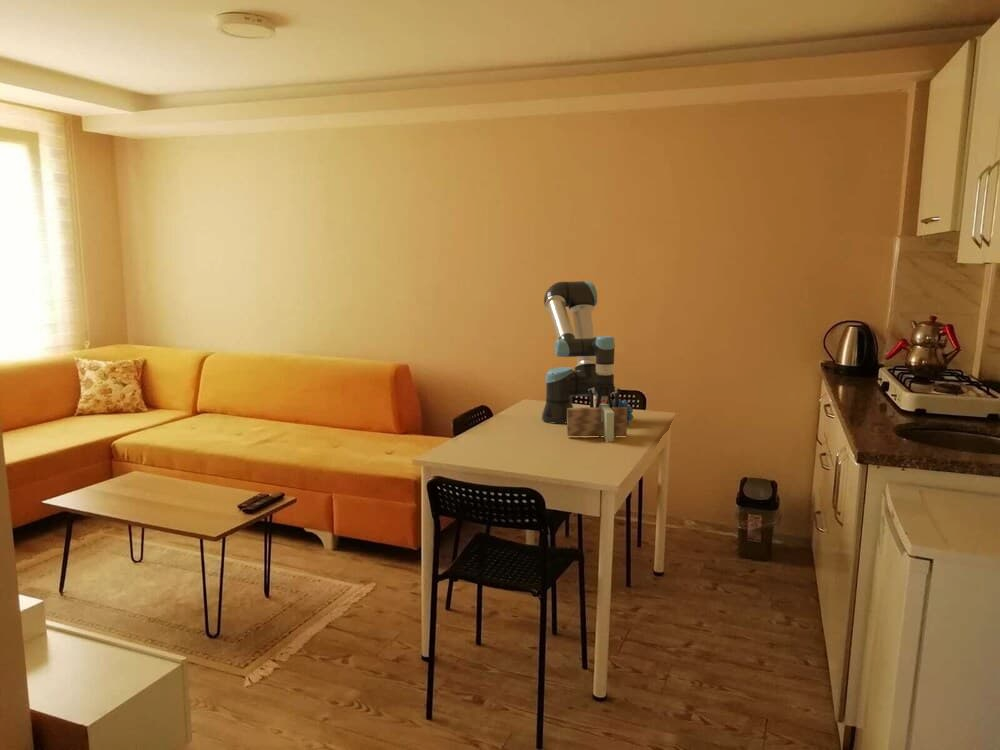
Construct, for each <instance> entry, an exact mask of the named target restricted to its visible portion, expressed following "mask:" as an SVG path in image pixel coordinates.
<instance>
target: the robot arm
mask: <svg viewBox="0 0 1000 750" xmlns="http://www.w3.org/2000/svg"><path fill="white" fill-rule="evenodd" d="M543 304H544V307H545V310H546V311H547V312H548V313H549V317H550V320H551V323H552V326H553V329H554V330H553V331H554V333H555V336H556V339H555V341H554V353H555V355H556V357H559V358H571V357H572V358H574V357H576V360H577V361H576V362H577V364H576V365H575V366H574V370H573V368H572V367H571V366H566V367H565V366H562V367H561V366H560V367H559V366H558V367H554V368H552V369H549V370H547V371H546V376H545V403H544V404H545V405H544V407H543V411H542V414H541V420H542V421H543V420H544V421H543V422H545V421H548V422H555V423H554V424H566V423H565V422H567V408H574V406H573V397H589V408H595V407H600V402H601V399H602V396H607V399H608V404H609V407H610V408H611V409H612V407H613V406H612V401H613V400H612V394H611V393H612V392H615V394H614V400H615V404H614V407H618V405H619V399H620V394H621V392H622V390H621V389H620V388H619V387H615V382H614V381H615V375H614V374H615V346H616V343H615V338H614V336H612V335H597V336H595V335H594V326H593V316H592V312H593V311H595V307H596V306H597V304H598V291H597V288H596V285H595V284H594V283H593V282H591V281H585V280H581V281H577V280H576V281H558V282H555V283H553V284H552V285H551V286H550V287H549V288H547V290H546V291H545V294H544V297H543ZM566 308H568V312H569V313H570V314H571V315H572V319H573V321H572V322H573V326H572V324H571V320H570V318H569V315H568V312H567V309H566ZM596 395H598V396H597V401H596V406H595V407H594V398H593V396H596ZM548 422H547V423H548Z"/></svg>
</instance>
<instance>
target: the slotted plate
mask: <svg viewBox="0 0 1000 750" xmlns="http://www.w3.org/2000/svg"><path fill="white" fill-rule="evenodd" d="M600 407H601V409H602V422H603V424H604V438H605V440H606V441H614V439H615V438H614V412H613V411H612V409H611V408H610V407H609V406H608V405H607V404H600ZM604 438H603V439H604ZM605 440H604V441H605ZM606 441H605V442H606ZM614 442H615V441H614Z"/></svg>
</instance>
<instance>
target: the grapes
mask: <svg viewBox="0 0 1000 750" xmlns="http://www.w3.org/2000/svg"><path fill="white" fill-rule="evenodd" d="M614 404H615V399H614V400H612V406H613V407H614ZM618 407H626V408H627V426H628V425H629V424H630V421H632V420H634V416H633V414H632V413H633V411H634V409H633V408H632V406H629V402H628V401H627V400H624V399H623V400H621V398H619V405H618Z"/></svg>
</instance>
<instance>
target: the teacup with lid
mask: <svg viewBox="0 0 1000 750" xmlns="http://www.w3.org/2000/svg"><path fill="white" fill-rule="evenodd" d="M611 395H615V392H614V391H613V392H612V393H611ZM597 396H598V395H596V396H593V398H594V408H595V406H596V401H597ZM600 404H607V405H608V406H609V404H608V399H607V396H602V399H601V402H600Z"/></svg>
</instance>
